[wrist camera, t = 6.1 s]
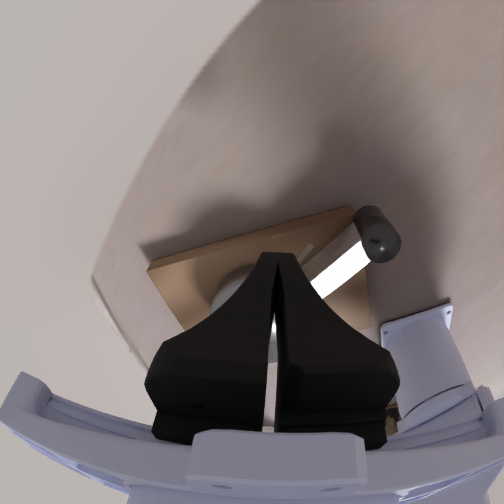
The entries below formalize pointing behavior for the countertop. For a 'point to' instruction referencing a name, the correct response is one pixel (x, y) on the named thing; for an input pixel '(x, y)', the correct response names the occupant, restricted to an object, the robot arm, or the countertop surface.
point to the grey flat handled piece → (331, 260)
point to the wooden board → (247, 252)
